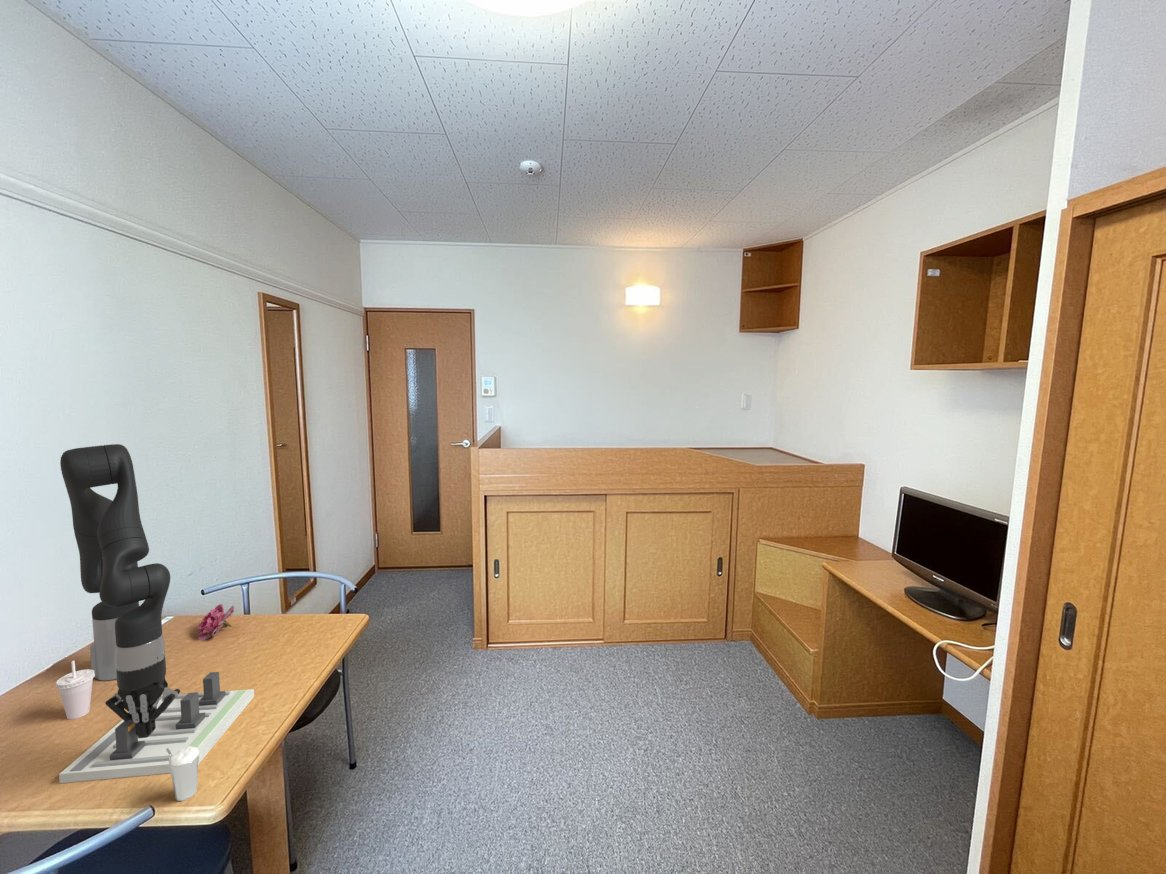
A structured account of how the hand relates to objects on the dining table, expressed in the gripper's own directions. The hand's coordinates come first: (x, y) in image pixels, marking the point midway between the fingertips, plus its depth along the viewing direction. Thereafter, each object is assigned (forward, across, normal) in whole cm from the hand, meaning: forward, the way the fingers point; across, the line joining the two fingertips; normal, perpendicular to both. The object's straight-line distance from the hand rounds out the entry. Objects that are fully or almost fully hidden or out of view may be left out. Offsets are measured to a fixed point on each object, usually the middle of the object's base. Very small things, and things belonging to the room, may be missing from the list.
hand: (146, 735), depth 99 cm
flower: (+6, -17, +55) cm, 58 cm away
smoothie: (+6, -27, +18) cm, 33 cm away
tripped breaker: (+4, -3, 0) cm, 5 cm away
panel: (+6, -1, +8) cm, 10 cm away
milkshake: (+6, +13, -10) cm, 18 cm away
